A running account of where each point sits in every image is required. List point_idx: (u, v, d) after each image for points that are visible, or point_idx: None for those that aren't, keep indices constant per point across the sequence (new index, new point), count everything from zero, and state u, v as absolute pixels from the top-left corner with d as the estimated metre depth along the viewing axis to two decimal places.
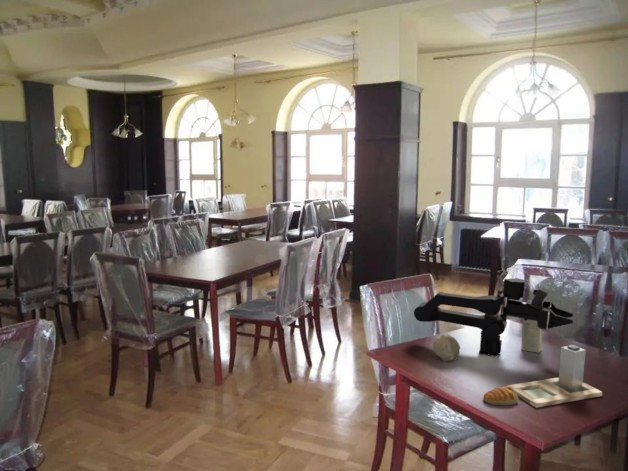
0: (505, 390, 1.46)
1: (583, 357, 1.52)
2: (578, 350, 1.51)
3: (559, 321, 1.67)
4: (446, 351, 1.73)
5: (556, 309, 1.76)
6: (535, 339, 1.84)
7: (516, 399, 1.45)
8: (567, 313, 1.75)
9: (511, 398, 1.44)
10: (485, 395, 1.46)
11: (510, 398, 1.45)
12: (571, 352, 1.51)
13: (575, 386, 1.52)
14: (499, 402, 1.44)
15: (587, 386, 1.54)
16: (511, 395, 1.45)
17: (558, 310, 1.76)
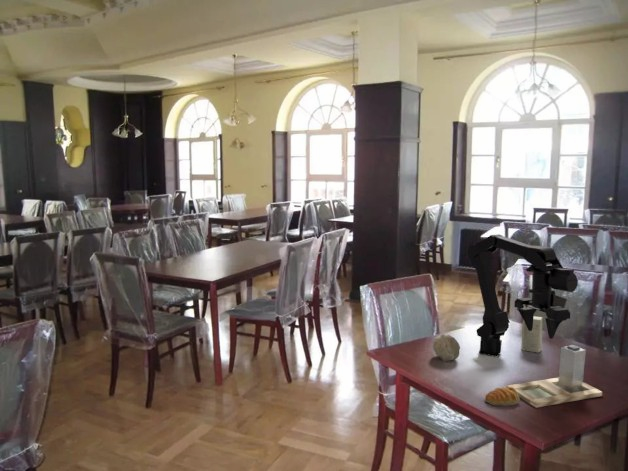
0: (507, 391, 1.46)
1: (583, 357, 1.52)
2: (578, 350, 1.51)
3: (553, 327, 1.59)
4: (446, 351, 1.73)
5: (532, 314, 1.70)
6: (535, 339, 1.84)
7: (518, 399, 1.45)
8: (531, 325, 1.70)
9: (513, 399, 1.44)
10: (487, 396, 1.46)
11: (512, 398, 1.44)
12: (571, 352, 1.51)
13: (575, 386, 1.52)
14: (501, 402, 1.43)
15: (587, 386, 1.54)
16: (513, 396, 1.44)
17: (532, 316, 1.70)
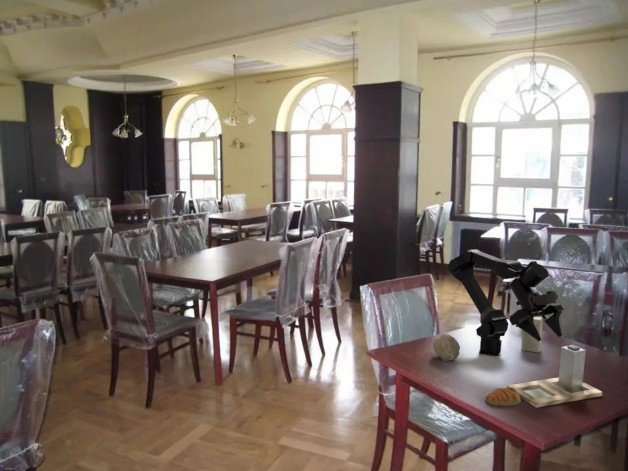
0: (507, 391, 1.46)
1: (583, 357, 1.52)
2: (578, 350, 1.51)
3: (529, 330, 1.59)
4: (446, 350, 1.73)
5: (554, 320, 1.64)
6: (535, 339, 1.84)
7: (518, 400, 1.45)
8: (558, 331, 1.62)
9: (513, 399, 1.44)
10: (487, 396, 1.46)
11: (513, 399, 1.44)
12: (571, 352, 1.51)
13: (575, 386, 1.52)
14: (502, 403, 1.43)
15: (587, 386, 1.54)
16: (513, 396, 1.44)
17: (555, 322, 1.64)
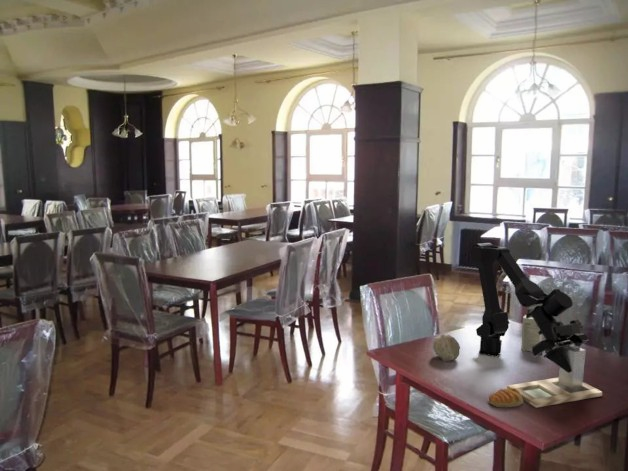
0: (510, 392, 1.45)
1: (583, 357, 1.52)
2: (578, 350, 1.51)
3: (558, 361, 1.53)
4: (446, 351, 1.73)
5: None
6: (535, 339, 1.84)
7: (521, 401, 1.44)
8: None
9: (516, 400, 1.43)
10: (490, 398, 1.45)
11: (516, 400, 1.43)
12: (571, 352, 1.51)
13: (575, 386, 1.52)
14: (505, 404, 1.43)
15: (587, 386, 1.54)
16: (516, 397, 1.44)
17: None
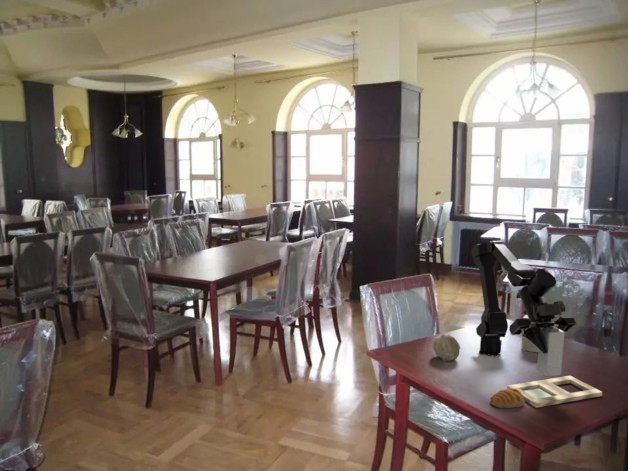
0: (511, 392, 1.45)
1: (561, 339, 1.47)
2: (555, 331, 1.47)
3: (536, 341, 1.50)
4: (446, 351, 1.73)
5: None
6: None
7: (522, 401, 1.44)
8: None
9: (518, 400, 1.43)
10: (492, 398, 1.44)
11: (517, 400, 1.43)
12: (547, 332, 1.47)
13: (551, 368, 1.48)
14: (507, 404, 1.42)
15: (587, 386, 1.54)
16: (518, 397, 1.43)
17: None
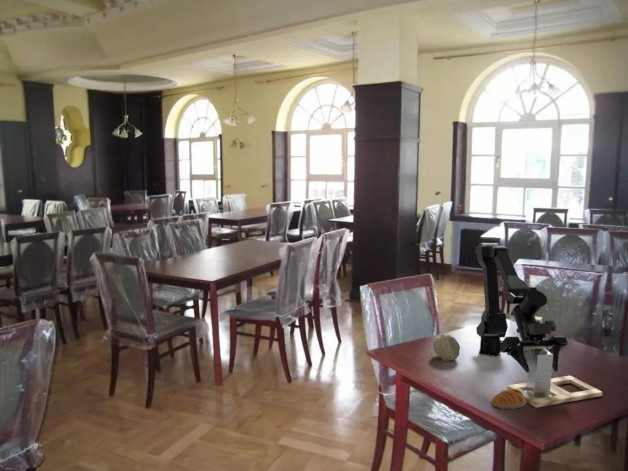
0: (513, 393, 1.44)
1: (550, 362, 1.47)
2: (544, 354, 1.47)
3: (519, 360, 1.50)
4: (446, 351, 1.73)
5: (553, 353, 1.51)
6: None
7: (524, 402, 1.44)
8: (554, 365, 1.49)
9: (520, 401, 1.43)
10: (494, 399, 1.44)
11: (519, 401, 1.43)
12: (535, 354, 1.47)
13: (539, 390, 1.48)
14: (509, 405, 1.42)
15: (587, 386, 1.54)
16: (520, 398, 1.43)
17: (553, 355, 1.51)
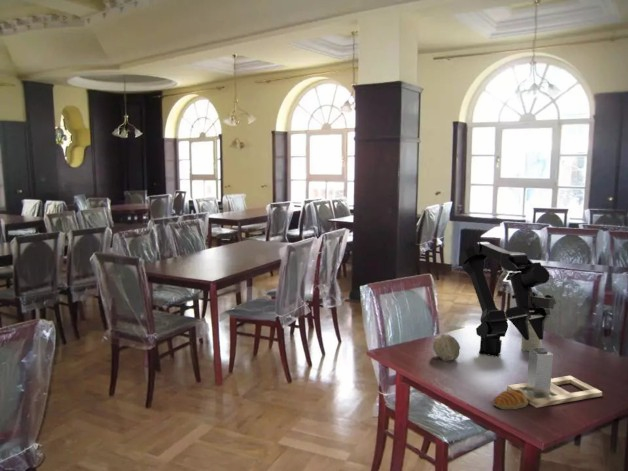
0: (515, 394, 1.44)
1: (550, 362, 1.47)
2: (544, 353, 1.47)
3: (521, 327, 1.59)
4: (446, 351, 1.73)
5: (540, 322, 1.65)
6: (535, 339, 1.84)
7: (526, 402, 1.43)
8: (540, 334, 1.64)
9: (522, 401, 1.43)
10: (496, 400, 1.43)
11: (521, 401, 1.43)
12: (535, 354, 1.47)
13: (539, 390, 1.48)
14: (511, 406, 1.41)
15: (587, 386, 1.54)
16: (521, 398, 1.43)
17: (540, 324, 1.65)
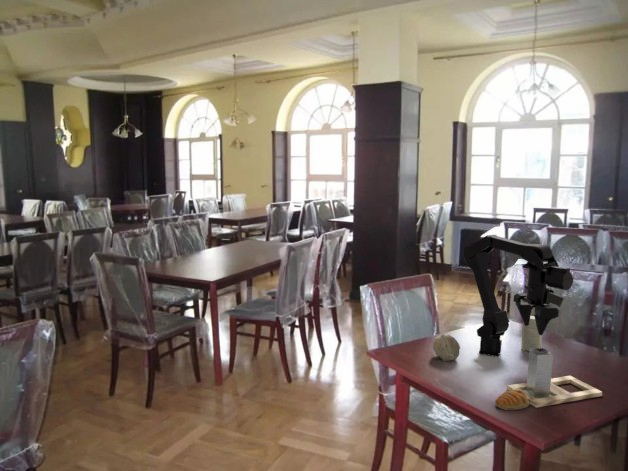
0: (516, 394, 1.44)
1: (550, 362, 1.47)
2: (544, 353, 1.47)
3: (541, 324, 1.62)
4: (446, 351, 1.73)
5: (530, 310, 1.73)
6: (535, 339, 1.84)
7: (527, 402, 1.43)
8: (528, 320, 1.73)
9: (523, 402, 1.42)
10: (497, 401, 1.43)
11: (523, 402, 1.42)
12: (535, 354, 1.47)
13: (539, 390, 1.48)
14: (513, 407, 1.41)
15: (587, 386, 1.54)
16: (523, 399, 1.43)
17: (529, 312, 1.73)
